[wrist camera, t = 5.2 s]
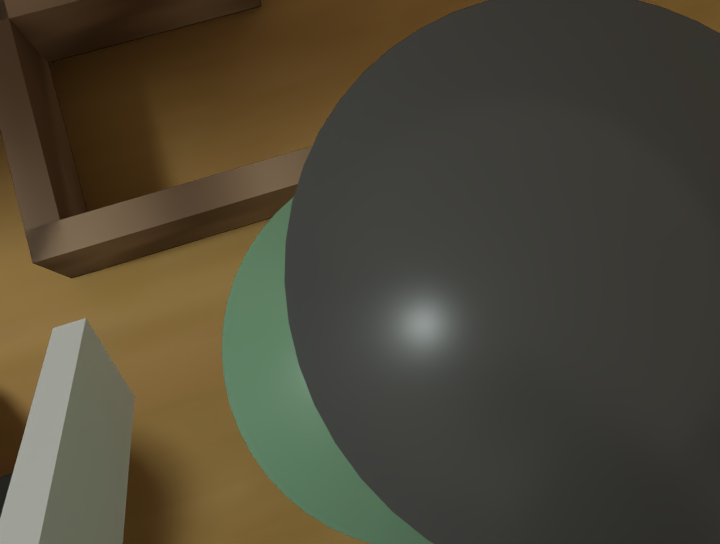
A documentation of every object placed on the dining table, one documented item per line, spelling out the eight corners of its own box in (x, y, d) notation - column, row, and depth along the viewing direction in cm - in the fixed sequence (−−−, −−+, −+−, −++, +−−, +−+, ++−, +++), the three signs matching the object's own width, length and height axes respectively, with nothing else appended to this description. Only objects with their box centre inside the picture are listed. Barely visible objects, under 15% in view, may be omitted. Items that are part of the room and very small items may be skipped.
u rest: (71, 278, 23) (32, 263, 20) (12, 44, 24) (-32, -2, 21) (326, 200, 24) (325, 175, 21) (253, -19, 25) (242, -71, 22)
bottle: (271, 427, 22) (-208, 813, 2) (306, 272, 23) (170, -314, 4) (428, 459, 22) (1195, 1093, 3) (456, 303, 23) (1132, -104, 4)
